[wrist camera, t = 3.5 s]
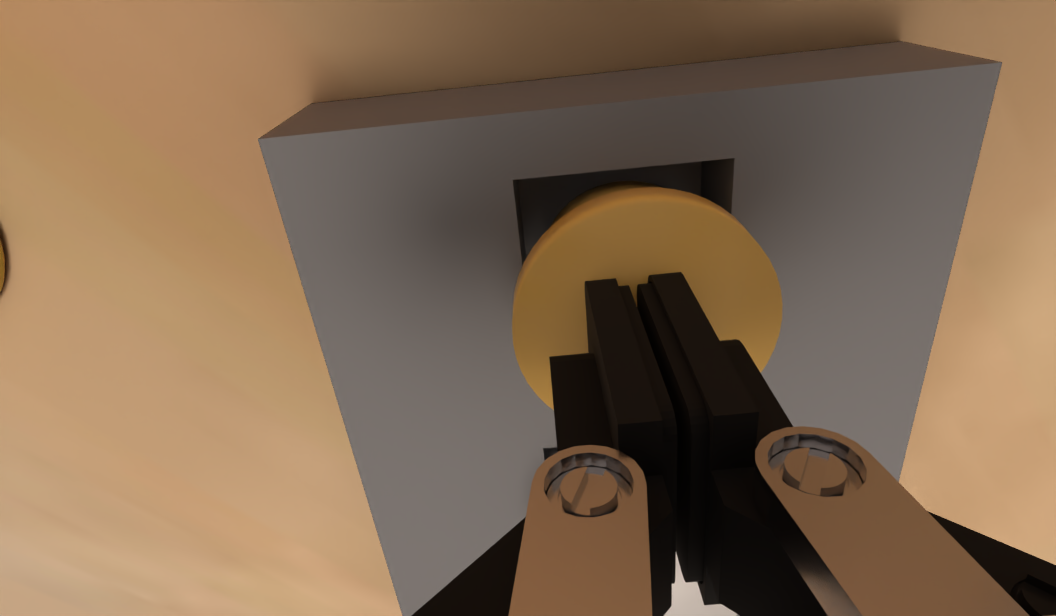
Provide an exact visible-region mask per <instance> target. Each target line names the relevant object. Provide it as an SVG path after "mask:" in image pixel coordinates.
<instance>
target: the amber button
mask: <svg viewBox="0 0 1056 616" xmlns="http://www.w3.org/2000/svg"><path fill="white" fill-rule="evenodd" d="M675 272H682V274H683V275H684V277H685V279H686V281H687V282H688V284H689V286H690V288H691V290H692V291H693V293H694V295H695V297H696V299H697V301H698V302H699V304H700V306H701V308H702V310H703V311H704V313H705V315H706V317H707V319H708V320H709V322H710V324H711V326H712V328H713V329H714V331H715V333H716V335H717V337H718V338H719V340H720V341H722V340H732V339H737V340H740V341H741V342H742V344H743V345H744V347H745V348H746V350H747V351H748V353H749V355H750V356H751V358H752V360H753V361H754V363H755V365H756V366H757V368H758V370H759V371H760V373H761V372H762V370H763V369H764V367H765V366H766V364H767V363H768V361H769V359H770V357H771V355H772V353H773V351H774V348H775V346H776V343H777V340H778V337H779V333H780V328H781V322H782V306H783V303H782V295H781V288H780V284H779V281H778V278H777V274H776V272H775V270H774V268H773V266H772V264H771V261H770V259H769V258H768V256H767V255H766V254H765V252H764V251H763V249H762V248H761V246H760V245H759V244H758V243H757V242H756V240H755V239H754V238H753V237H752V236H751V234H750V233H749V232H748V231H747V230H746V228H745V227H744V226H743V225H742V224H741V223H740V222H739V221H738V220H737V219H736V218H735V217H734V216H733V215H731V214H730V213H729V212H727V211H726V210H725V209H723V208H722V207H720V206H719V205H717V204H715V203H713V202H711V201H710V200H708V199H706V198H703V197H700V196H698V195H695V194H692V193H689V192H685V191H680V190H676V189H669V188H662V187H660V186H657V185H654V184H651V183H646V182H641V181H617V182H611V183H606V184H603V185H600V186H597V187H594V188H592V189H590V190H587V191H586V192H584V193H582V194H581V195H579V196H577V197H576V198H575V199H573V200H572V201H571V202H569V203H568V204H567V205H566V206H565V207H564V208H563V209H562V210H561V211H560V213H559V214H558V215H557V217H556V218H555V219H554V221H553V222H552V224H551V226H550V228H549V229H548V230H547V231H546V232H545V233H544V234H543V235H542V236H541V237H540V239H539V240H538V241H537V243H536V244H535V245H534V246H533V248H532V249H531V251H530V253H529V254H528V256H527V258H526V260H525V261H524V263H523V266H522V268H521V271H520V273H519V275H518V279H517V283H516V287H515V291H514V299H513V315H512V335H513V346H514V350H515V355H516V359H517V362H518V364H519V367H520V370H521V372H522V374H523V375H524V377H525V379H526V381H527V383H528V384H529V385H530V387H531V388H532V389H533V391H534V392H535V393H536V395H537V396H538V397H539V398H540V399H541V400H542V401H543V402H544V403H545V404H546V405H547V406H549V407H550V408H551V409H553V410H554V406H553V394H552V383H551V371H550V360H549V357H550V356H561V355H571V354H582V353H589V352H588V336H587V320H586V305H585V285H584V284H585V281H592V280H602V279H613V278H616V280H617V283H618V286H625V285H629V287H630V289H631V292H632V295H633V298H634V300H635V303H636V306H637V285H638V284H645V283H648V277H649V275H654V274H664V273H675Z"/></svg>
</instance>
